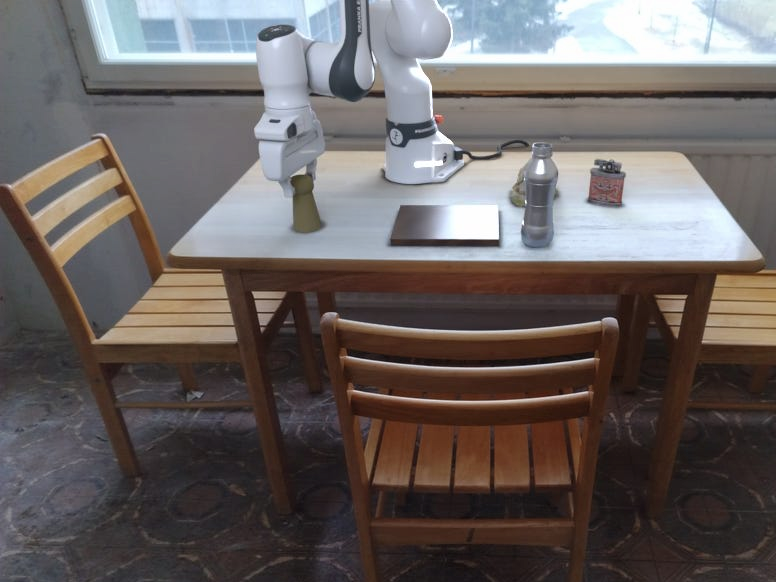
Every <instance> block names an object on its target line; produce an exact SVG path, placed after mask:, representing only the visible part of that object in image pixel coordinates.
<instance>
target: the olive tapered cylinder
mask: <svg viewBox="0 0 776 582" xmlns="http://www.w3.org/2000/svg"><path fill="white" fill-rule="evenodd" d="M290 183H291V186H292V187H295V193H296V194H295V195H294V196H293V197H292V220H293V222H292V226H293V230H294V231H296V232H298V233H299V232H300V233H311V232H315V231H319V230H320V229H321V228H322V227H323V223H322V220H321V216H320V213H319V210H318V206H317V203H316V199H315V196H314V192H313V191H314V189H315V181H313V179H312V178H311V177H310V176H308V175H305V173H304V174H301V173H300V174H295V175H291V181H290Z"/></svg>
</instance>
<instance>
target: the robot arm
mask: <svg viewBox="0 0 776 582" xmlns="http://www.w3.org/2000/svg"><path fill="white" fill-rule="evenodd" d="M338 10H339V11H338V12H339V29H340V38H339V41H338V43H336V42H328V41H322V40H316V39H313V38H311V37H308V36H306V35H304V34H303V33H301V32H300V31H299V30H298V28H297V27H296V26H294V25H292V24H291V25H290V24H276V25H270V26H268V27H265V28H263V29H262V30H260V32H258V34H257V35H256V40H255V57H256V65H257V73H258V78H259V83H260V85H261V87H262V89H263V93H264V94H263V95H264V97H263V106H264V112H263V113H262V116H261V118H260V120H259V121H258V122H257V124H256V125H255V126H254V128H253V133H254V136H255V137H254V138H255V139H257V140H259V143H258V154H259V160H260V165H261V170H262V174H263V176H264V178H265V179H266V180H267V181H269V182H270V181H271V182H277V183H278V185H280V187H281V189H282V191H283V196H284V197H285V198H287V199H288V198H289V199H290V198H292V197H293V196H294V195H295V194H296V193H295V187H292V186H291V183H290V181H291V177H292V176H294V174H296V173H297V172H299V171H300V170H302V169H303V168H305V172H304V175H308V176H310V177H311V178H312V179H313V182H315V181H316V180H317V174H316V170H317V166H318V159H317V158H319V157H321V156H322V155H323V154H324V153H325V150H326V142H325V137H324V133H323V128H322V124H321V121H320V120H319V119H318V117H317V114H316V113H315V111H314V110H313V106H312V104H313V103H312V100H311V97H310V94H317V95H322V96H327V97H333V98H336V99H340V100H342V101H343V100H344V101H345V102H346V101H347V102H350V103H357V102H359V101H361V100H362V99H364V98H365V97H366V96H367V95H368V94H369V93H370V91H371V90H372V88H373V86H374V85H375V84H374V83H375V82H376V81H375V79H376V67H375V62H376V64H377V67H378V70H379V73H380V77H381V79H382V83H383V89H384V95H385V96H384V97H385V107H386V118H385V125H384V126H385V132H386V135H387V137H386V139H385V161H384V162H385V164H383V166H382V170H383V171H384V172H385V173H384V175H385V176H384V177H385V179H387V180H388V181H391V182H394V183H398V184H403V185H404V184H405V185H420V184H427V183H444V182H445V181H446V180H448V179H449V178H450V177H452V176H453V175H454V174H455V173H456V172H457V171H458V170H460V169H461V168H463V167H464V165H465V162H464V155H466V156H468V158H469V159H470V160H473V161H474V160H476V161H477V160H478V161H479V160H480V161H481V160H484V161H485V160H491V159H496V158H498V157H500V156H501V155H502V153H503V152H502V148H505V147H507V146H510V145H515V144H522V145H524V146H525V147H529V146H530V144H529V143H528V142H527V141H526V140H523V139H512V140H509V141H506V142H504V143H501V144H499V145H498V146H497V147H496V148H497V153H492V154H489V155H482V156H481V155H479V156H477V155H473V154H472V153H471V151H469V150H463V149H461V148H460V147H458V146H456V145H455V144H454V143H453V142H452V140H450V139H449V138H447V136H445V135H444V134H442V133H441V131H439V127H438V125H442V124H443V123H444V117H443V115H438V114H435V115H434V114H433V113H434V112H433V92H432V90H433V89H432V84H431V81H430V79H429V78H428V76H427V75H426V74H425V73H424V71H423V69H422V67H421V65H420V63H419V61H420V60H421V61H426V60H434V59H440V58H441V57H443V56H444V55H446V53H447V52H448V51H449V49H450V47H451V45H452V41H453V36H454V35H453V26H452V23H451V19H450V18H449V16H448V15H447V14H446V12H445V11H444V10H443V9H442V8H441V6H440V5H439V3H438V1H437V0H377V1H373V2H370V0H338ZM374 59H375V61H374ZM433 115H434V116H433ZM437 124H438V125H437ZM292 199H293V198H292Z"/></svg>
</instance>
